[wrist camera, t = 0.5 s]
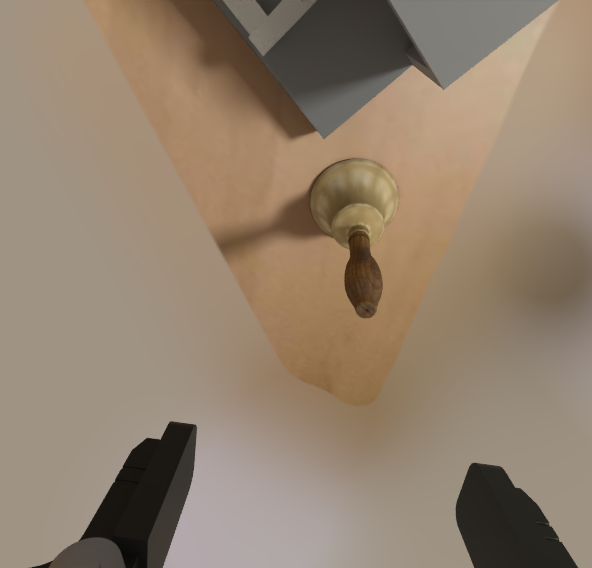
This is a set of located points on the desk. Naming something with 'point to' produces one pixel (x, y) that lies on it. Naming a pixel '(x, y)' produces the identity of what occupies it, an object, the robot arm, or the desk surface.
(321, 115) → the cubby
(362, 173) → the hand bell
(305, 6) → the grey bar handle
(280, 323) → the desk surface
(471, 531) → the robot arm
